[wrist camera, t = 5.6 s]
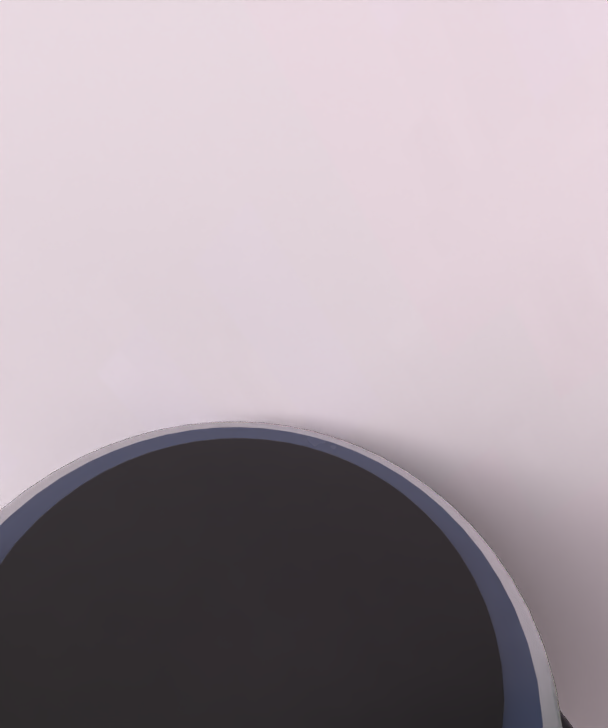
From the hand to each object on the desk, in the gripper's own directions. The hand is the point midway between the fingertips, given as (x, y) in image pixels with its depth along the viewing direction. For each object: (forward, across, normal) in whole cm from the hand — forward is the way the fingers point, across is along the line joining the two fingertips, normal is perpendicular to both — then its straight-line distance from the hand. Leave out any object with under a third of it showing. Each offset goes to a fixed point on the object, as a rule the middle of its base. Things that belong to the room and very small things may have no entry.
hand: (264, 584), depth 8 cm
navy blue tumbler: (-1, 0, +7) cm, 7 cm away
